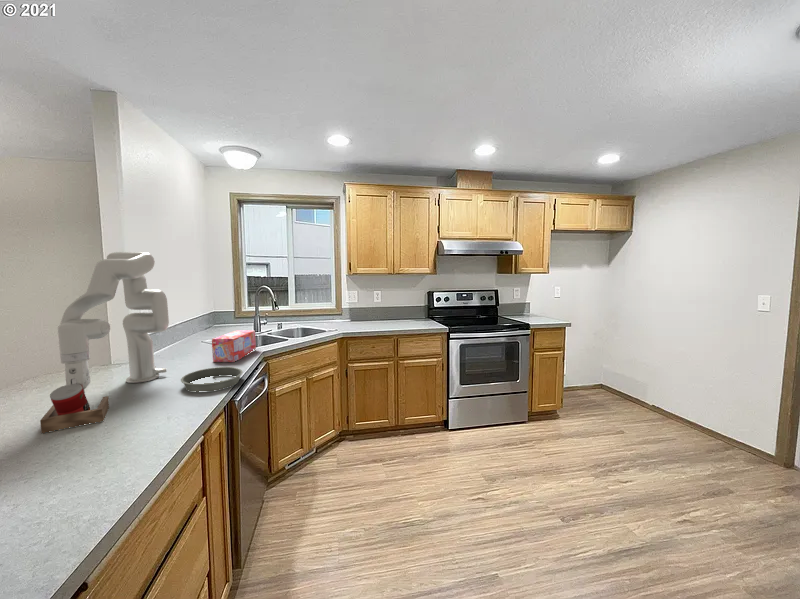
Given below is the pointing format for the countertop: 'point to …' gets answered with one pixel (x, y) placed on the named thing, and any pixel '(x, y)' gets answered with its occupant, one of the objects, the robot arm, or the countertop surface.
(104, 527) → the countertop surface
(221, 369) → the cake pan
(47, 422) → the walnut holder
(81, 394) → the canned food
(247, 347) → the box
